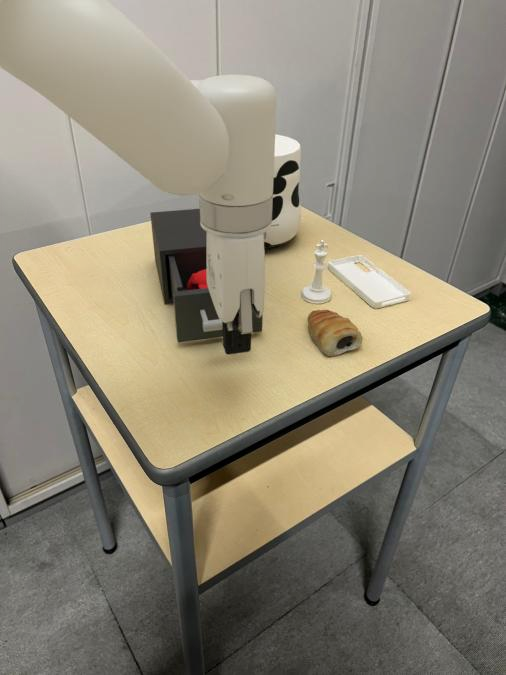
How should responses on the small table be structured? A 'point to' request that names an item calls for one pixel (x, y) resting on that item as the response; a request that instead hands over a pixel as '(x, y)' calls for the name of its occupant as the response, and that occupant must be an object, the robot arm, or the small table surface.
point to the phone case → (369, 282)
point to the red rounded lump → (198, 281)
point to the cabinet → (175, 241)
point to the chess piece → (317, 279)
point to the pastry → (333, 332)
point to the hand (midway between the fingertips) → (236, 349)
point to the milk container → (285, 192)
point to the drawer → (195, 301)
